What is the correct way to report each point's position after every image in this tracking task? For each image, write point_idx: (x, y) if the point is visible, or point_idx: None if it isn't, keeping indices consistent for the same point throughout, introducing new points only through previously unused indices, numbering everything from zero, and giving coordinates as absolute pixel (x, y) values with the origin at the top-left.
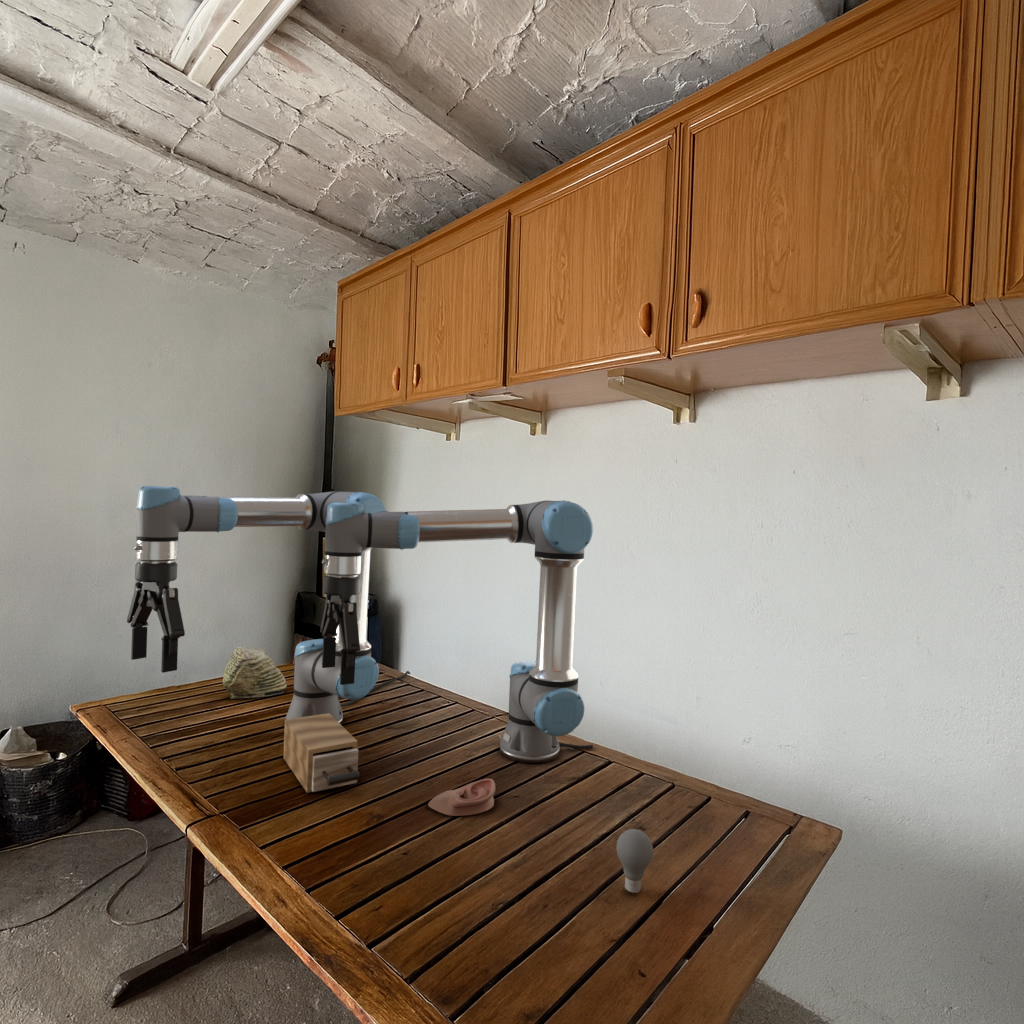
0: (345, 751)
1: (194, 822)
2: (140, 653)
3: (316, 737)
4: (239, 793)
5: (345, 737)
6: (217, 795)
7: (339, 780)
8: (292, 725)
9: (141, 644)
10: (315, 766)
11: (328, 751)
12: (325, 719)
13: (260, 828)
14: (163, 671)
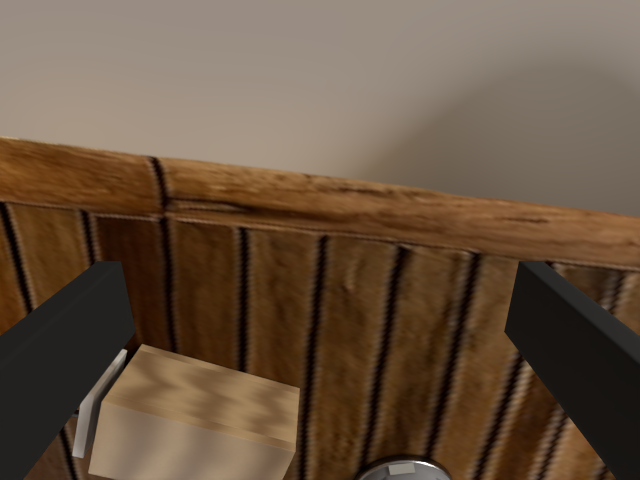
0: (78, 439)
1: (159, 170)
2: (527, 319)
3: (155, 440)
4: (217, 274)
5: (119, 470)
6: (236, 246)
7: None
8: (252, 445)
9: (562, 364)
10: None
11: None
12: None
13: (66, 234)
14: (94, 266)
